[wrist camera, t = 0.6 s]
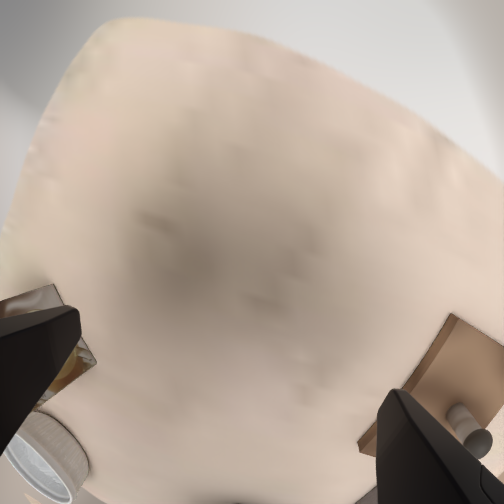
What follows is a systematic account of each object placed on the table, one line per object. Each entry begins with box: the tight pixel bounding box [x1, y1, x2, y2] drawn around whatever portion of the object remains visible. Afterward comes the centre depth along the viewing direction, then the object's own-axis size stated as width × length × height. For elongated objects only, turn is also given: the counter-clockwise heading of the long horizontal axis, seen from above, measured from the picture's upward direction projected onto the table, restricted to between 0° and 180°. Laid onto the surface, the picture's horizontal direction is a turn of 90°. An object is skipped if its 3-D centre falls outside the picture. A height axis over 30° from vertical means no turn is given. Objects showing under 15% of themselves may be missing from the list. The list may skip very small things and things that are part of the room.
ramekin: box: [4, 412, 89, 504], centre depth 25 cm, size 13×13×7 cm
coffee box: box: [0, 284, 96, 413], centre depth 18 cm, size 9×6×16 cm
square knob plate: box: [358, 314, 504, 459], centre depth 17 cm, size 14×12×8 cm
